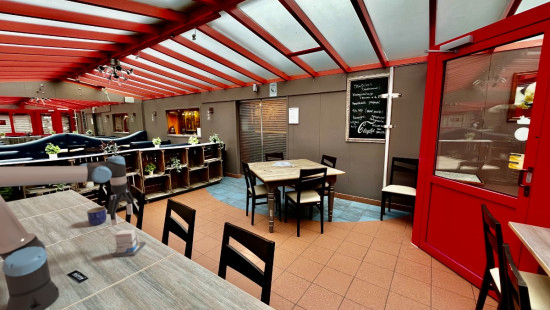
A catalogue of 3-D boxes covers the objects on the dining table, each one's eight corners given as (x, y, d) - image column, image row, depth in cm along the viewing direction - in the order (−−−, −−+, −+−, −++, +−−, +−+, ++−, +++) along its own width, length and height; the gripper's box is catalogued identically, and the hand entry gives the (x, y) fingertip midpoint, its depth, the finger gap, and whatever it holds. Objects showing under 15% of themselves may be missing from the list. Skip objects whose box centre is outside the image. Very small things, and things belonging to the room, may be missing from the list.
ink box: (137, 247, 130) (135, 228, 128) (133, 252, 125) (131, 233, 123) (121, 248, 129) (119, 230, 127) (117, 253, 124) (114, 234, 122)
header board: (134, 255, 124) (133, 243, 123) (112, 256, 124) (111, 244, 122) (145, 244, 136) (144, 233, 135) (126, 244, 135) (124, 233, 134)
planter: (104, 225, 161) (102, 211, 159) (86, 227, 157) (84, 213, 155) (109, 219, 171) (107, 205, 169) (92, 221, 167) (90, 207, 165)
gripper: (110, 190, 109) (114, 229, 113) (138, 177, 134) (141, 210, 137) (95, 190, 109) (99, 229, 112) (126, 178, 134) (129, 210, 137)
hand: (122, 219), depth 125 cm, fingers open, 13 cm apart
